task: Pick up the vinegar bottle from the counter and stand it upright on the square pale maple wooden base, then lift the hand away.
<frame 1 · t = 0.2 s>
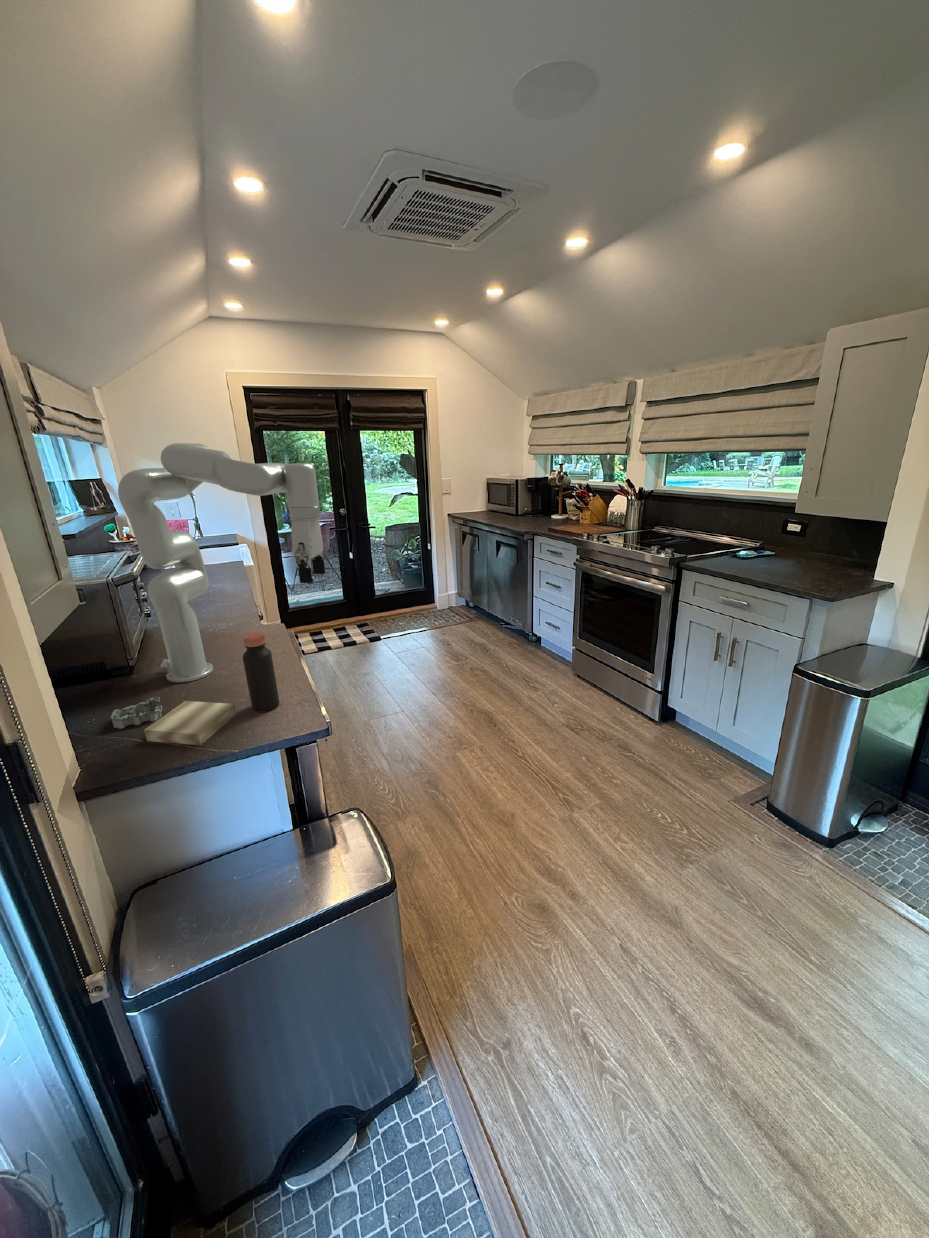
hand: (313, 578, 132), 31 cm above the worktop, tool pointing down, fingers open, 9 cm apart
maple base: (193, 727, 120), on the worktop
vinegar: (266, 706, 129), on the worktop
egg carton: (139, 720, 125), on the worktop
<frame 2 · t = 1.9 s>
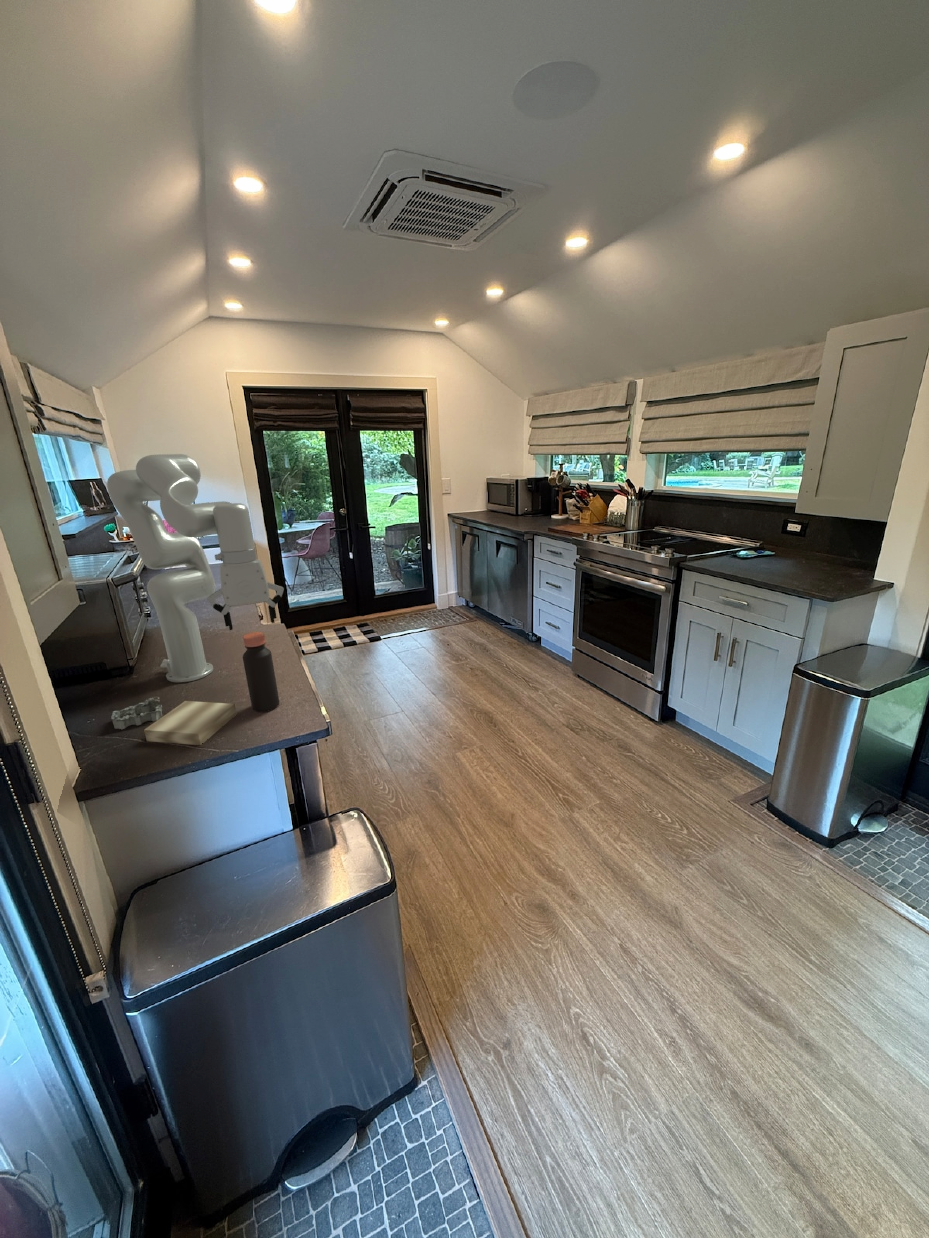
hand: (252, 624, 122), 23 cm above the worktop, tool pointing down, fingers open, 9 cm apart
nothing on the worktop moved.
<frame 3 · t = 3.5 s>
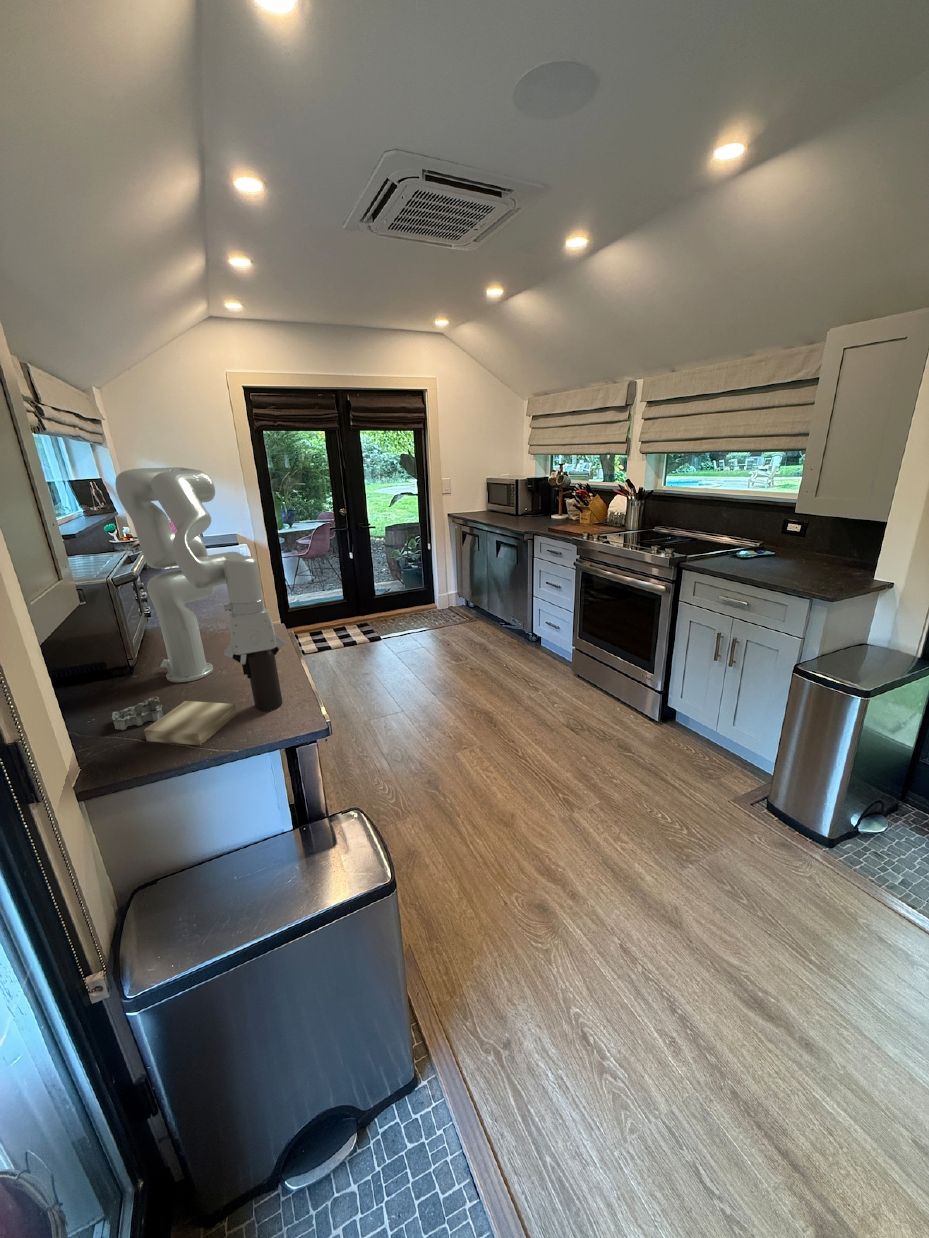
hand: (259, 673, 126), 9 cm above the worktop, tool pointing down, fingers closed on vinegar, 4 cm apart
vinegar: (269, 706, 130), on the worktop, touching gripper
everything else where it was.
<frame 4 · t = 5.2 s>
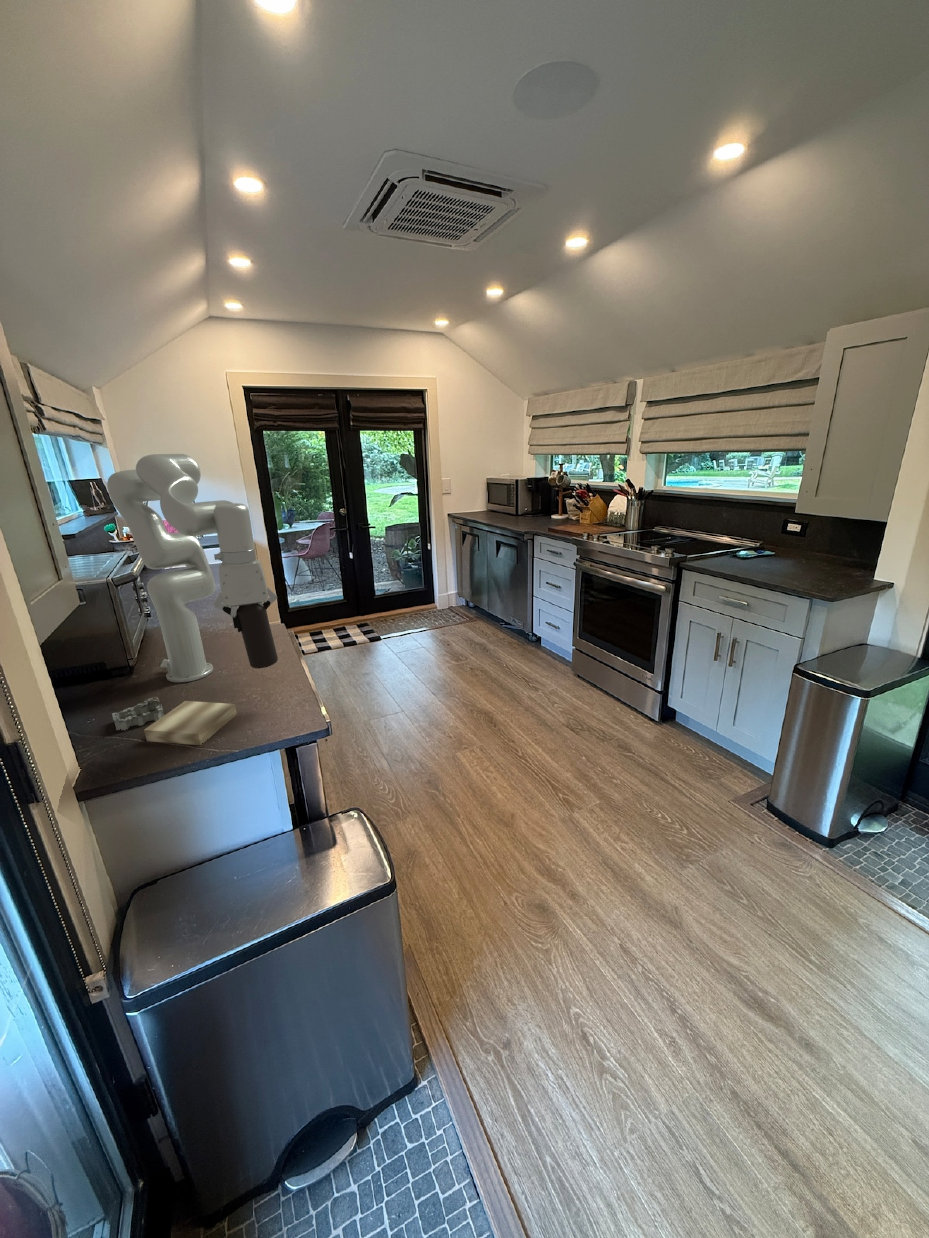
hand: (250, 628, 122), 22 cm above the worktop, tool pointing down, fingers closed on vinegar, 4 cm apart
vinegar: (264, 663, 126), point 12 cm above the worktop, touching gripper
everything else where it was.
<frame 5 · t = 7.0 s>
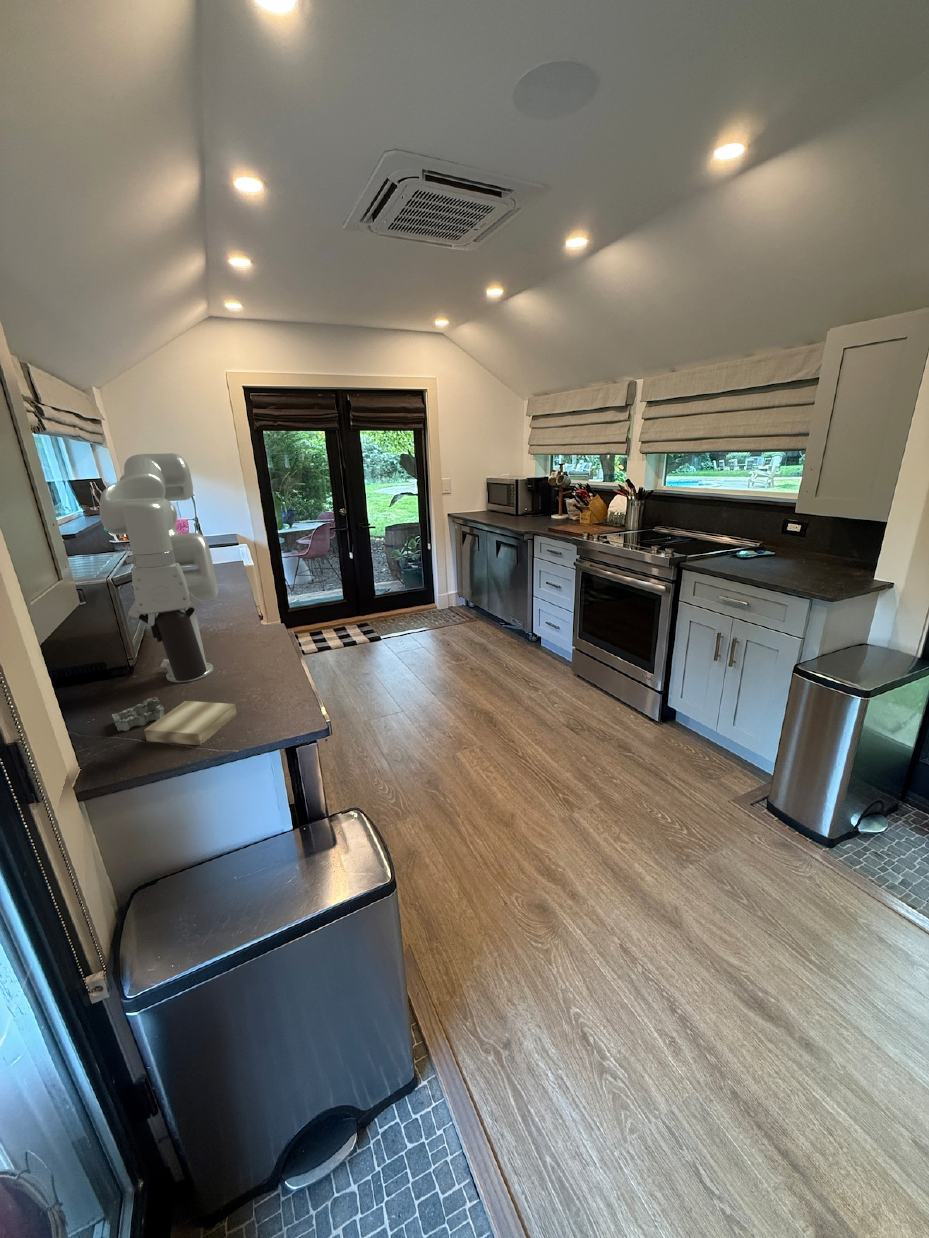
hand: (173, 637, 112), 24 cm above the worktop, tool pointing down, fingers closed on vinegar, 4 cm apart
vinegar: (191, 676, 116), point 14 cm above the worktop, touching gripper
when the fingers open (14 cm above the worktop, at t = 9.4 s): vinegar stays where it is, resting on maple base.
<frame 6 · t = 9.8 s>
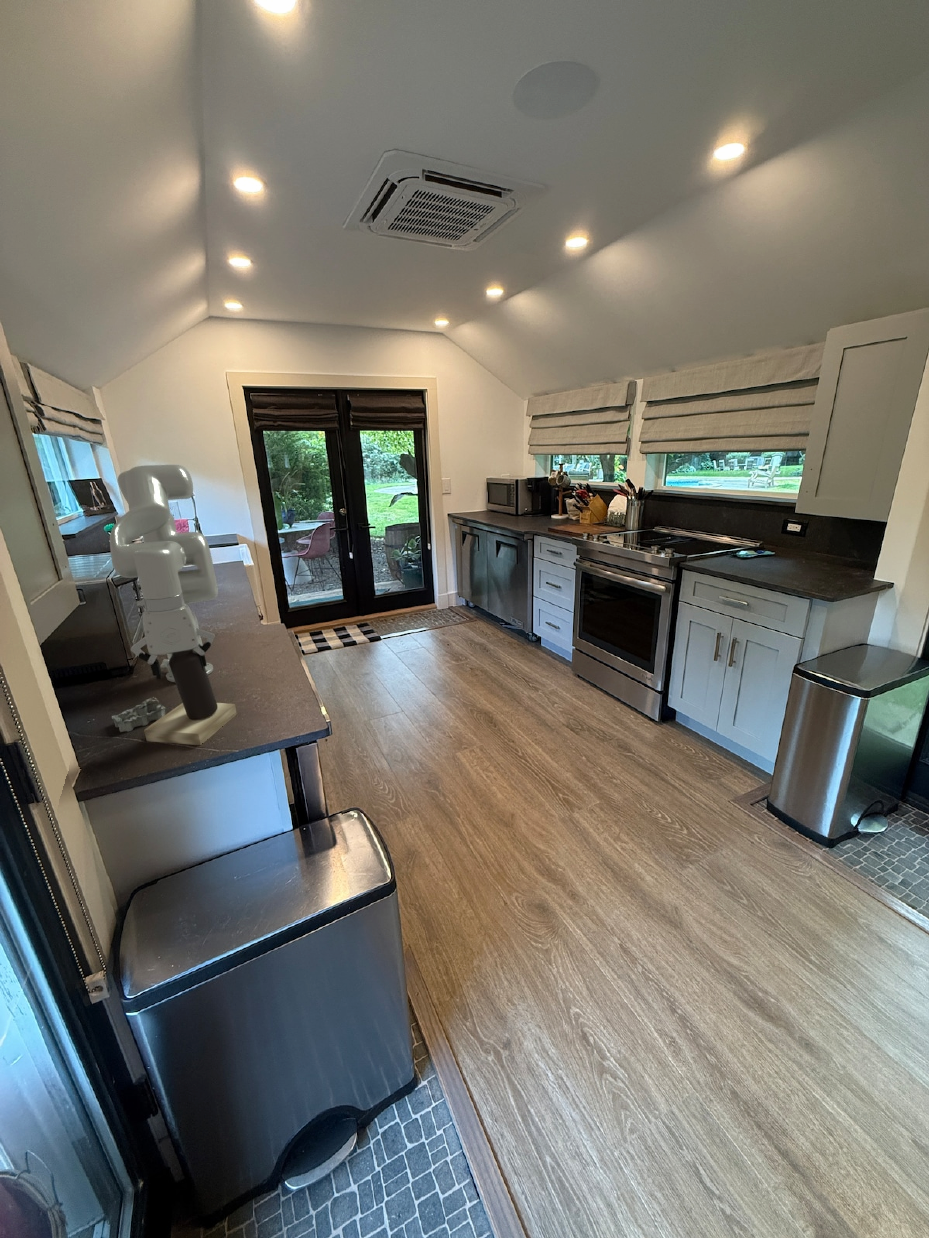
hand: (181, 673, 115), 15 cm above the worktop, tool pointing down, fingers open, 8 cm apart
vinegar: (203, 713, 120), point 3 cm above the worktop, touching maple base
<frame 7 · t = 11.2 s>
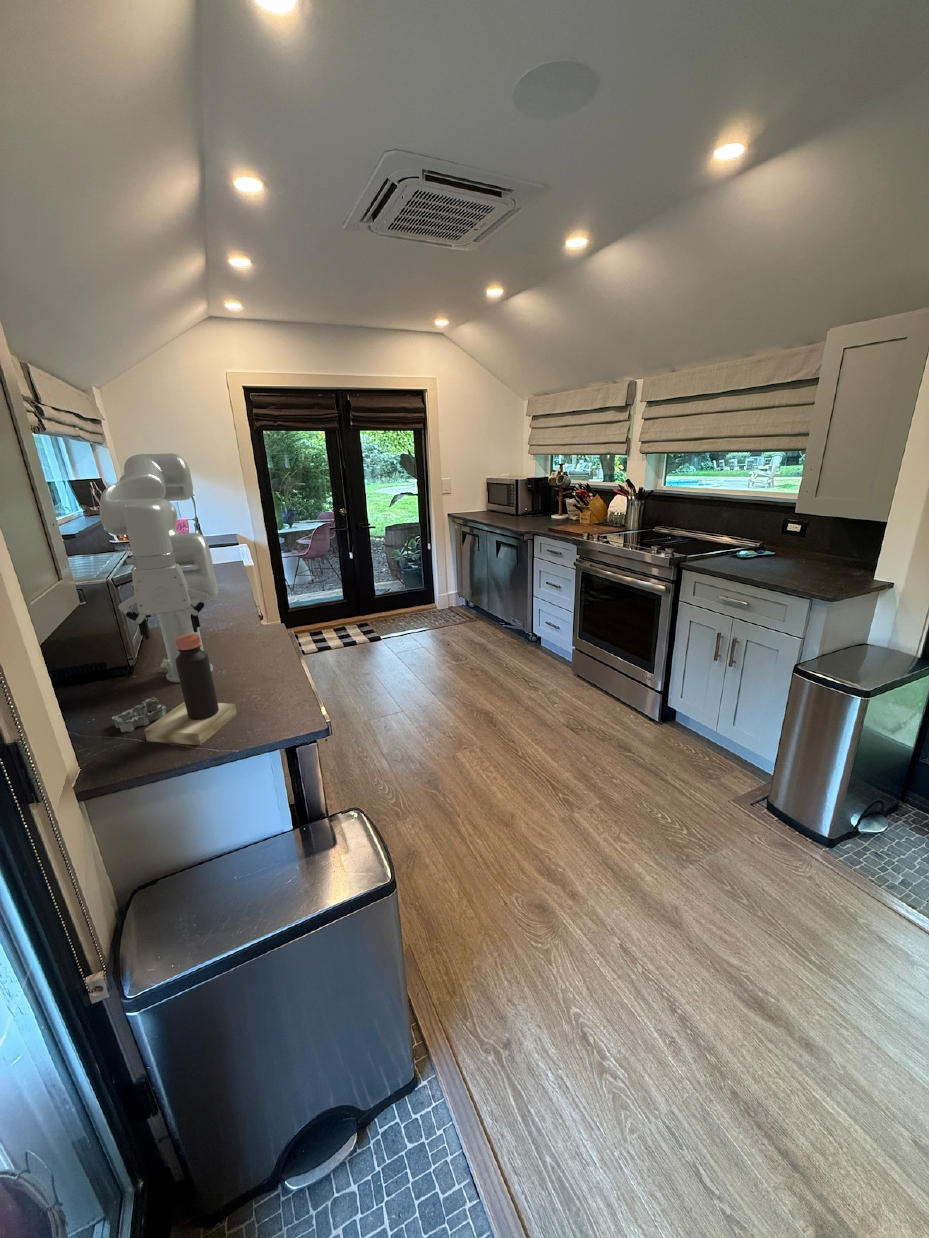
hand: (172, 634, 113), 24 cm above the worktop, tool pointing down, fingers open, 9 cm apart
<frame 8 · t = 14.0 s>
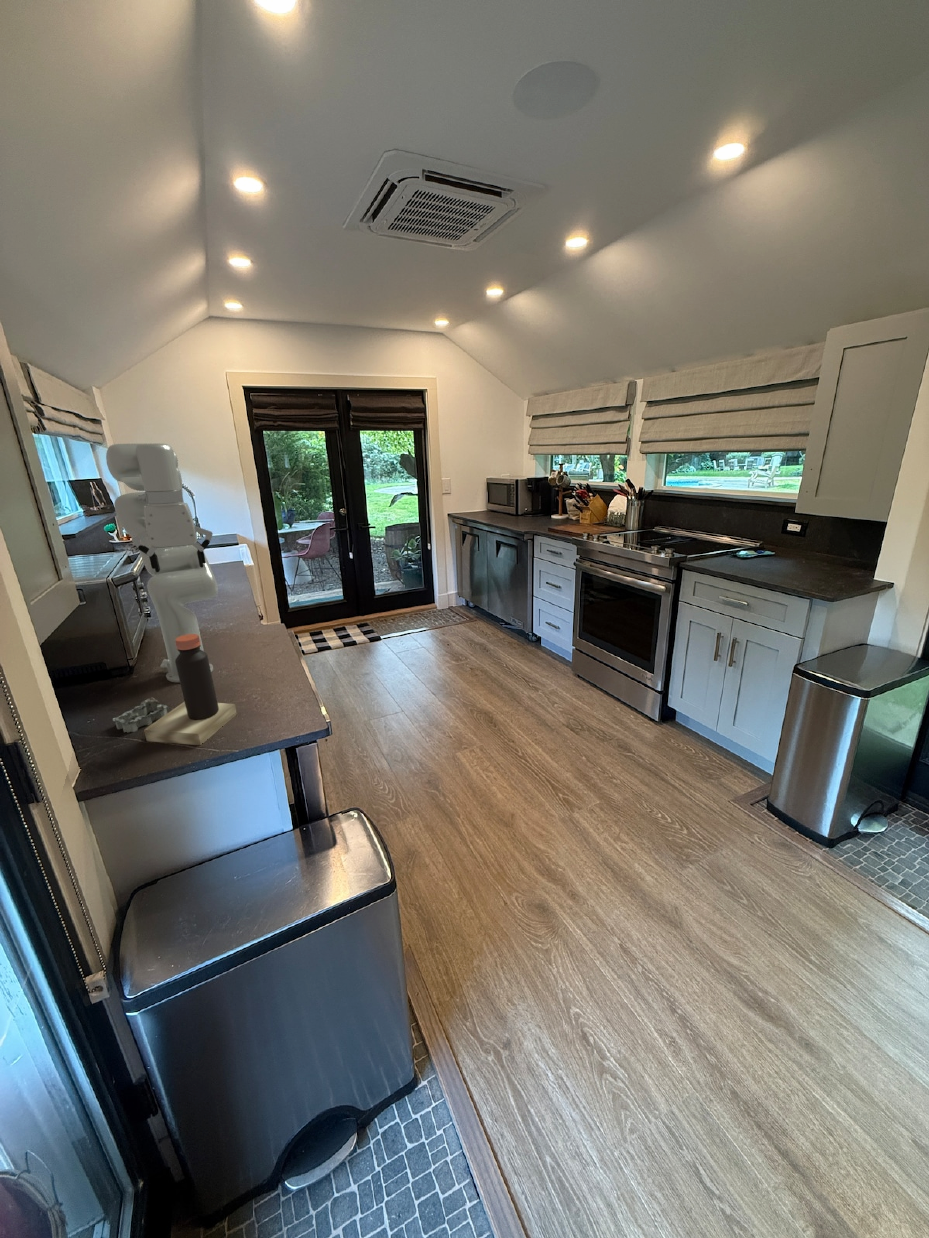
hand: (180, 568, 122), 36 cm above the worktop, tool pointing down, fingers open, 9 cm apart
at the end: vinegar inside the target area on the maple base (2.7 cm from its centre), point 2.8 cm above the maple base's base; vinegar tilted 0°; the gripper is holding nothing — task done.
